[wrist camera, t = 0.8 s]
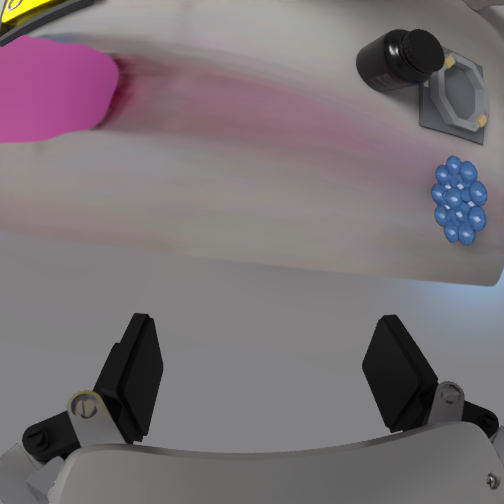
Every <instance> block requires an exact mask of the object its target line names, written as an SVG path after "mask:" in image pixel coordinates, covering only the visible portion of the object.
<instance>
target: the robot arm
mask: <svg viewBox="0 0 504 504" xmlns="http://www.w3.org/2000/svg"><path fill="white" fill-rule="evenodd" d="M362 369H363V372H364V374H365V376H366V379H367V381H368V384H369V386H370V388H371V391H372V393H373V396H374V398H375V401H376V403H377V406H378V408H379V411H380V413H381V416H382V418H383V421H384V423H385V426H386V427H389V429H390V432H391V433H394V432H397V431H401V430H402V431H403V432H401V433H397V434H393V435H389V436H385V437H381V438H376V439H372V440H368V441H362V442H357V443H352V444H346V445H340V446H334V447H327V448H319V449H310V450H301V451H289V452H272V453H214V452H199V451H198V452H197V451H186V450H176V449H167V448H159V447H151V446H142V445H134V444H133V442H134V441H138V442H142V439H143V436H147V434H148V431H149V426H150V422H151V417H152V413H153V409H154V405H155V401H156V397H157V393H158V389H159V385H160V381H161V377H162V373H163V361H162V357H161V352H160V348H159V343H158V338H157V334H156V329H155V323H154V319H153V318H150V317H149V315H148V314H141V313H135V314H134V315H133V317H132V319H131V321H130V323H129V325H128V327H127V329H126V331H125V333H124V335H123V338H122V339H121V342H120V343H115V344H114V346H113V347H112V349H111V352H110V354H109V356H108V358H107V360H106V362H105V364H104V367H103V369H102V371H101V373H100V375H99V378H98V380H97V382H96V385H95V387H94V389H93V391H89V390H84V391H80V392H77V393H76V394H74V395H73V396H72V397H71V398H70V399H69V401H68V404H67V411H65V412H62V413H60V414H58V415H56V416H53V417H51V418H49V419H46V420H44V421H42V422H39V423H37V424H34V425H32V426H31V427H29V428H27V430H26V431H25V432H24V434H23V439H22V442H23V443H21V444H20V445H19V444H18V443H16V444H15V445H14V446H13V447H12V448H10V449H9V450H8V451H7V452H6V453H4V454H3V455H2V456H1V457H0V499H1V500H2V502H3V503H4V504H504V426H502V425H501V426H500V427H499V422H498V418H497V417H496V415H495V414H494V413H493V412H491V411H489V410H487V409H485V408H482V407H479V406H477V405H474V404H472V403H470V402H467V401H465V400H464V399H465V398H464V392H463V390H462V389H461V388H460V386H458V385H457V384H456V383H454V382H450V381H444V382H442V383H440V384H439V383H438V382H437V380H438V378H437V376H436V374H435V373H434V371H433V369H432V368H431V366H430V365H429V363H428V361H427V360H426V358H425V357H424V355H423V354H422V352H421V350H420V349H419V347H418V346H417V345H416V343H415V341H414V340H413V339H412V337H411V335H410V334H409V332H408V331H407V329H406V328H405V327H404V325H403V324H402V322H401V321H400V319H399V318H398V316H396V315H384V316H383V317H382V318H381V319H380V320H379V321H378V323H377V326H376V329H375V331H374V334H373V337H372V340H371V342H370V345H369V348H368V350H367V353H366V355H365V358H364V360H363V363H362ZM55 480H56V482H55V483H54V481H55ZM53 485H54V487H53V490H52V494H51V497H50V501H48V498H47V494H48V491H49V489H50V488H51V487H52V486H53Z"/></svg>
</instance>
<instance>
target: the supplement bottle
mask: <svg viewBox="0 0 504 504" xmlns="http://www.w3.org/2000/svg"><path fill="white" fill-rule="evenodd" d="M444 62H445V56H444V52H443V48H442V46H441V45H440V43H439V41H438V40H437V39H436V38H435V37H434V36H433V35H432V34H430V33H429V32H427V31H424V30H420V29H415V30H412V31H407V30H402V29H396V30H392V31H390V32H388V33H386V34H385V35H383V36H381V37H380V38H378V39H376V40H375V41H373V42H371V43H370V44H368V45H367V46H365V47H364V48H362V49H361V50H360V52H359V53H358V55H357V58H356V67H357V70H358V73H359V75H360V77H361V78H362V79H363V81H364V82H365V83H366V84H367V85H369V86H370V87H372V88H374V89H376V90H379V91H391V90H395V89H400V88H405V87H410V86H415V85H420V84H423V83H425V82H427V81H428V80H429V79H430V77H431V76H432V74H433V72H437V71H439V70H441V68H443V65H444Z"/></svg>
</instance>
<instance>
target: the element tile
mask: <svg viewBox="0 0 504 504" xmlns="http://www.w3.org/2000/svg"><path fill="white" fill-rule="evenodd" d="M66 1H69V0H8V1H7V4H6V6H5V9H4V12H3V15H2V22H3V23H5V24H9V25H13V26H19V25H20V24H22V23H24V22H26V21H27V20H29V19H31V18H33V17H35V16H37V15H39V14H41V13H43V12H45V11H47V10H49V9H51V8H53V7H55V6H57V5H59V4H62V3H64V2H66Z"/></svg>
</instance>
